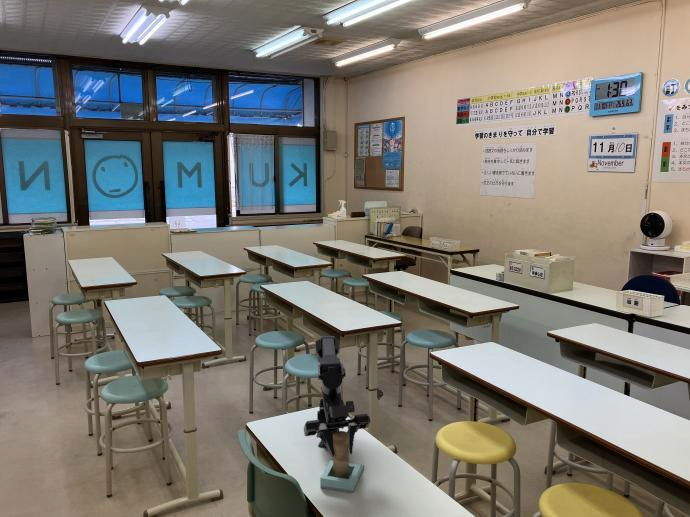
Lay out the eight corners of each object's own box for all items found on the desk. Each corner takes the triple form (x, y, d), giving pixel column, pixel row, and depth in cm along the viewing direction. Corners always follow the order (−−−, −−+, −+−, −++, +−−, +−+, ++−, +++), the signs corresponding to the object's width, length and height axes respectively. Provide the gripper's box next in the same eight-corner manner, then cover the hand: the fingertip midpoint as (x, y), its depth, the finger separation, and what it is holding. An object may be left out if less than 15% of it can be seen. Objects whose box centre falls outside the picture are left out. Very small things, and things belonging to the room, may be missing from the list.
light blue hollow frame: (333, 462, 163) (333, 453, 162) (364, 467, 160) (364, 458, 160) (320, 487, 150) (320, 478, 150) (353, 493, 148) (352, 483, 147)
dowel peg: (338, 470, 156) (337, 429, 154) (351, 475, 154) (351, 433, 152) (330, 478, 153) (329, 436, 150) (343, 483, 150) (343, 440, 148)
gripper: (304, 395, 150) (313, 451, 142) (368, 387, 155) (380, 442, 146) (300, 408, 159) (308, 462, 151) (361, 401, 164) (371, 453, 155)
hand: (342, 455), depth 151 cm, fingers open, 5 cm apart
